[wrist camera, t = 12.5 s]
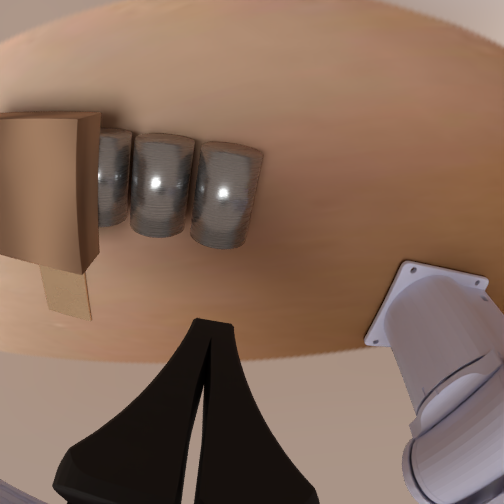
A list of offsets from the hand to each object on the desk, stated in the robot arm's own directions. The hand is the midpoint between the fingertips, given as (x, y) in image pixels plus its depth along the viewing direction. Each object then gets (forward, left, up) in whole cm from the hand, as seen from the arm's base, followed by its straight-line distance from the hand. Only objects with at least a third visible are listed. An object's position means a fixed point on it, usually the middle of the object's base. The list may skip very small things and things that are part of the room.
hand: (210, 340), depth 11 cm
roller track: (+9, +3, -10) cm, 13 cm away
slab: (+12, -2, -7) cm, 14 cm away
